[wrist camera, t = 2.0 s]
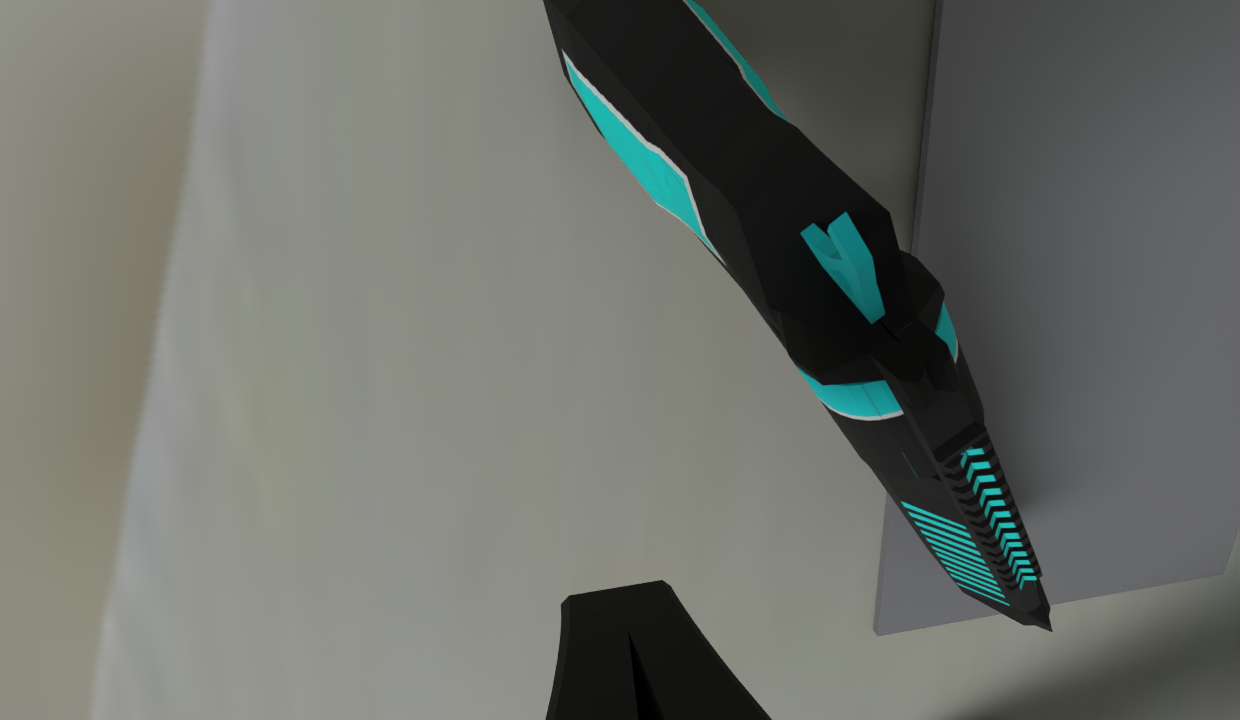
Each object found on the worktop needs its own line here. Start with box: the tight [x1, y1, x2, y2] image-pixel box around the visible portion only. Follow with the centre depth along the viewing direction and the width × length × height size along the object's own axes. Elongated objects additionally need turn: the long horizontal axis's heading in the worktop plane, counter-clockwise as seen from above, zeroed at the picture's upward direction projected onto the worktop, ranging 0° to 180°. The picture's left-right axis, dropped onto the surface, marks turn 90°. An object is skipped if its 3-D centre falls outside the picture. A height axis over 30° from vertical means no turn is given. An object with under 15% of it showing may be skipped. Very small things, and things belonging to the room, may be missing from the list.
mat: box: [873, 0, 1240, 636], centre depth 20 cm, size 24×14×1 cm, turn 4°
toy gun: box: [543, 0, 1052, 632], centre depth 17 cm, size 3×20×10 cm, turn 39°
